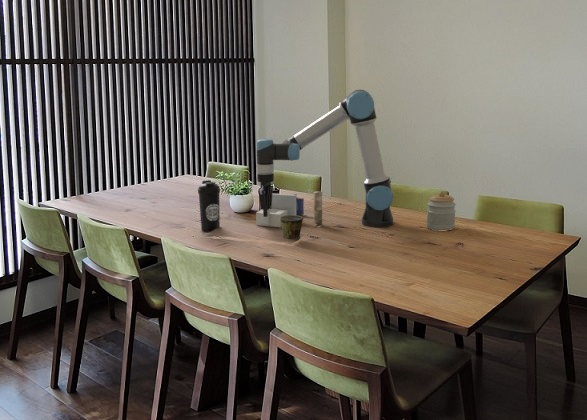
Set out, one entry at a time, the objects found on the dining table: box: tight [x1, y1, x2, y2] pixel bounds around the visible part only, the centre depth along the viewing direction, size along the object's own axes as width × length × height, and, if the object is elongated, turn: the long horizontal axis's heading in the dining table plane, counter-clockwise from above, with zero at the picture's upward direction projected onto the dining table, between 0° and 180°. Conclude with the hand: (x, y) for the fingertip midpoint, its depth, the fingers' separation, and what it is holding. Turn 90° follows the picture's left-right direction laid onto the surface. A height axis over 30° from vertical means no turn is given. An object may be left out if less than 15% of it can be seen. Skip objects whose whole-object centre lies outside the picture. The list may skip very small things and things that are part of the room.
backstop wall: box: [259, 192, 297, 215], centre depth 331 cm, size 18×23×14 cm
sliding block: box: [255, 209, 288, 228], centre depth 334 cm, size 12×10×6 cm
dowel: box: [313, 191, 323, 227], centre depth 334 cm, size 4×4×16 cm
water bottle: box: [197, 179, 221, 233], centre depth 327 cm, size 10×10×23 cm
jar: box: [425, 190, 457, 231], centre depth 325 cm, size 13×13×18 cm
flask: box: [292, 193, 305, 217], centre depth 356 cm, size 9×3×11 cm, turn 61°
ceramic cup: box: [280, 215, 304, 242], centre depth 308 cm, size 13×10×10 cm
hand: (266, 222), depth 328 cm, fingers closed
